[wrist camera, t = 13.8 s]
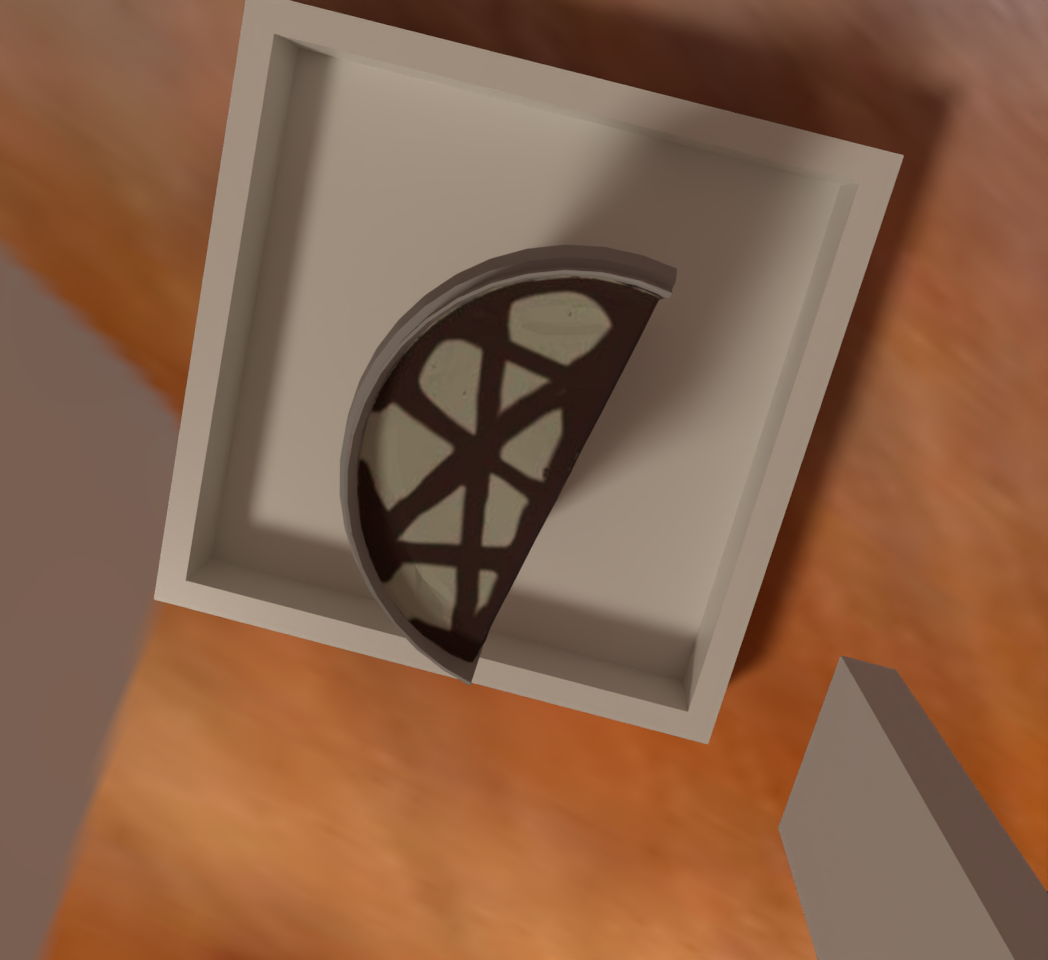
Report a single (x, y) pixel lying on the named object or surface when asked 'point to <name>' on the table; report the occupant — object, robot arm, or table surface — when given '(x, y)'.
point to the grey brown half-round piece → (483, 430)
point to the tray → (465, 241)
